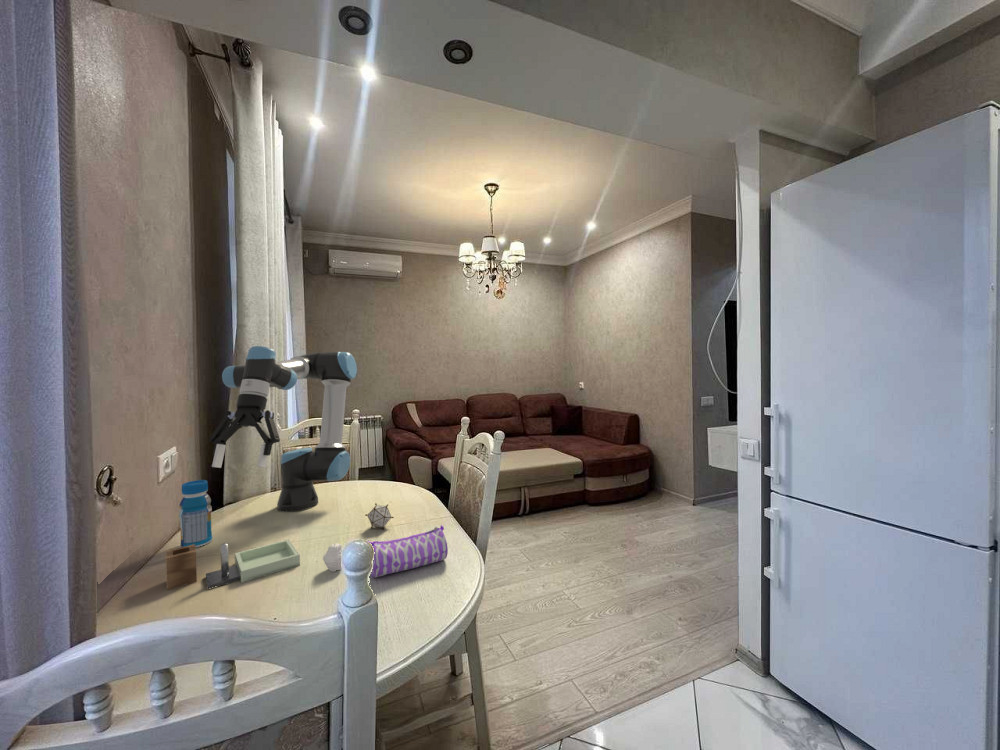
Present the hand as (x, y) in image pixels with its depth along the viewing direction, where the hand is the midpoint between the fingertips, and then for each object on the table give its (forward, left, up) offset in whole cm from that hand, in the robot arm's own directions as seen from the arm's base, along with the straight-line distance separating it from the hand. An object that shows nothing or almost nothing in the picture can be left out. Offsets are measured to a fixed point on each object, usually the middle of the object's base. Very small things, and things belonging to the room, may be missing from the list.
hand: (238, 467), depth 114 cm
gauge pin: (+4, +7, -28) cm, 29 cm away
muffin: (-20, +22, -28) cm, 40 cm away
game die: (-41, +2, -28) cm, 49 cm away
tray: (-6, +6, -28) cm, 29 cm away
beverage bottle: (+9, -26, -28) cm, 40 cm away
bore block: (+13, +1, -28) cm, 31 cm away
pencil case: (-36, +35, -28) cm, 57 cm away
